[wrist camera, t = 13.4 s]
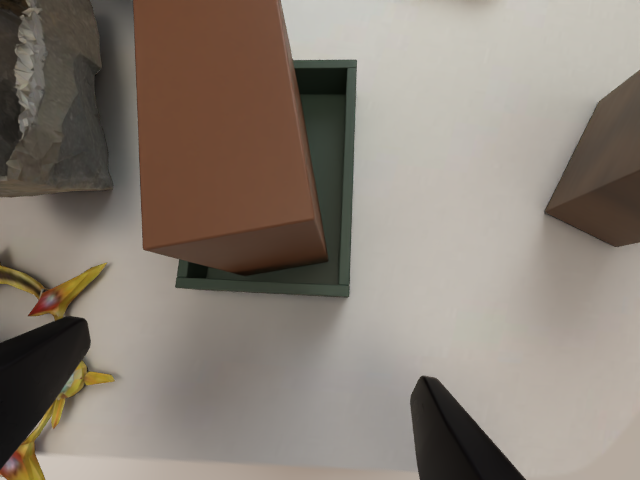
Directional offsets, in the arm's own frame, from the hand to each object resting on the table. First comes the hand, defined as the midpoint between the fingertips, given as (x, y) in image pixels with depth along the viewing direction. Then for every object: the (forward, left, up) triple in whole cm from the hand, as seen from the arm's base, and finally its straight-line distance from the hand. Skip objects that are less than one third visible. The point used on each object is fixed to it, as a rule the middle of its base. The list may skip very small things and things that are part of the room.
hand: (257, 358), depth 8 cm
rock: (+15, +15, +1) cm, 21 cm away
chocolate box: (+9, +3, -10) cm, 14 cm away
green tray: (+9, +2, -11) cm, 14 cm away
